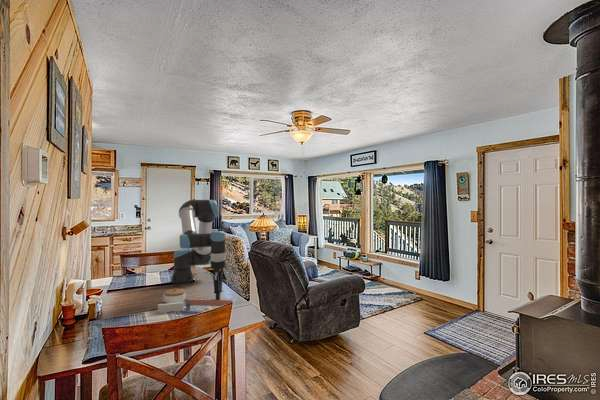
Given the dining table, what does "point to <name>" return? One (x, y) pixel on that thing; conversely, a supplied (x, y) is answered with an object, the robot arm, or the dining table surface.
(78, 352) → the dining table surface
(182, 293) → the lidded jar
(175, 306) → the socket channel
